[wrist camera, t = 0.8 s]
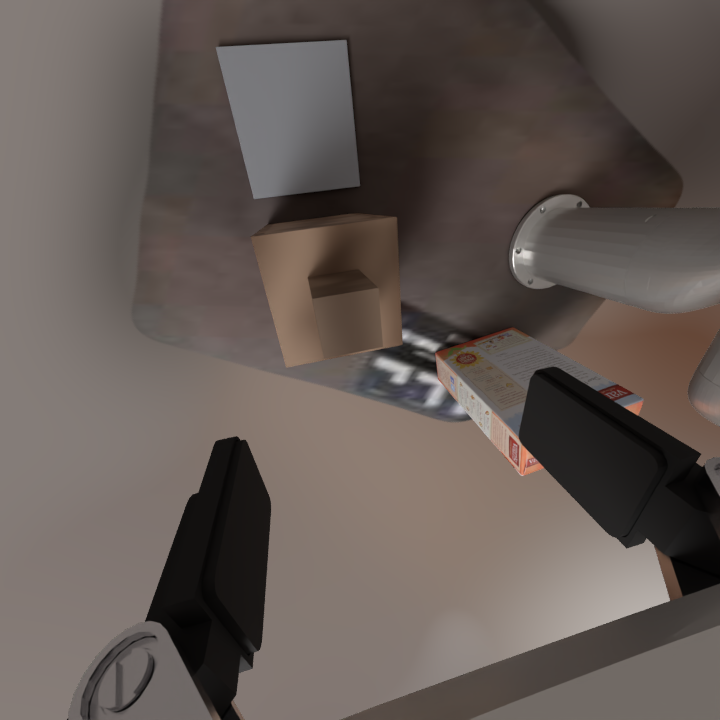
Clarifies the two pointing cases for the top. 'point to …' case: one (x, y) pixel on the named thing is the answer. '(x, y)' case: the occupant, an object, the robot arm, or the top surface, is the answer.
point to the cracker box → (511, 385)
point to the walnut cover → (332, 285)
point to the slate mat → (293, 115)
